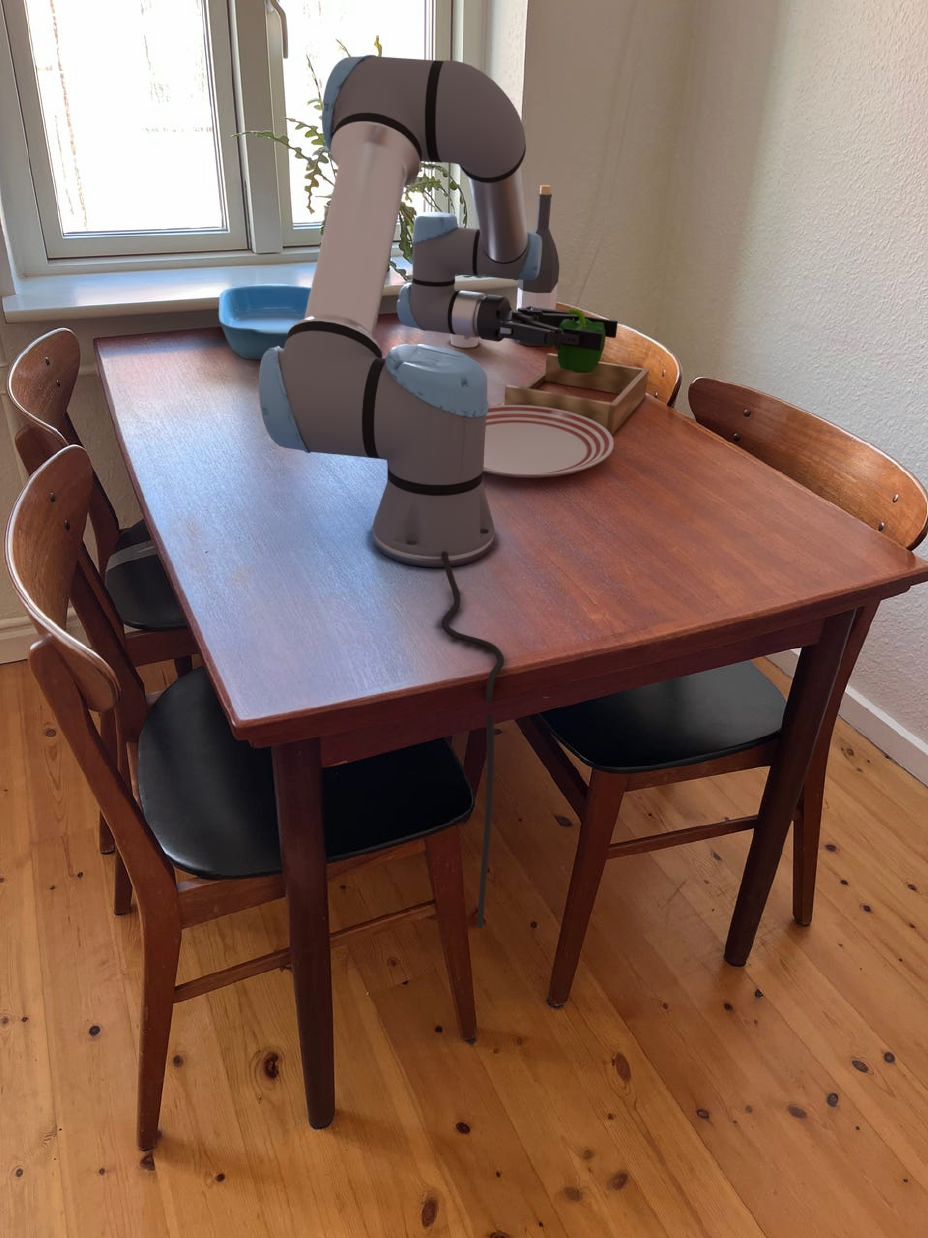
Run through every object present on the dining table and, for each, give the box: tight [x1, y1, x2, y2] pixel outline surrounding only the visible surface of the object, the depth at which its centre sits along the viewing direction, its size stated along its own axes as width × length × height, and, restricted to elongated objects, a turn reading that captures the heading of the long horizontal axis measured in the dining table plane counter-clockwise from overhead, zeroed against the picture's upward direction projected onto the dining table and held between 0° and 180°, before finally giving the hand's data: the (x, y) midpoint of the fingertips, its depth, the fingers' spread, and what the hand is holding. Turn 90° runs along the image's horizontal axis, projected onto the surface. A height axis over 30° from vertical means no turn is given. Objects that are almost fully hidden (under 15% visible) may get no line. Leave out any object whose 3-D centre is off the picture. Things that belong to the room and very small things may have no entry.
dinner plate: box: [483, 404, 615, 479], centre depth 142 cm, size 27×27×3 cm
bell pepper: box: [556, 308, 607, 373], centre depth 157 cm, size 8×8×10 cm
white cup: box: [449, 334, 480, 349], centre depth 191 cm, size 7×7×7 cm
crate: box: [501, 352, 650, 436], centre depth 162 cm, size 20×22×5 cm
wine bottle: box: [515, 184, 560, 347], centre depth 189 cm, size 8×8×30 cm
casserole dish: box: [218, 283, 312, 360], centre depth 188 cm, size 37×22×7 cm, turn 13°
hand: (608, 335), depth 155 cm, fingers closed on bell pepper, 8 cm apart
